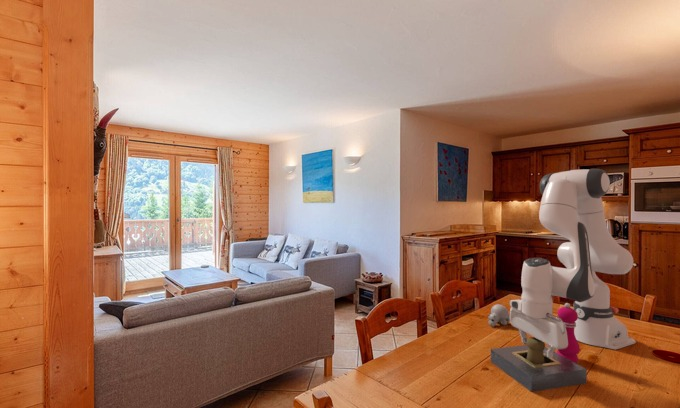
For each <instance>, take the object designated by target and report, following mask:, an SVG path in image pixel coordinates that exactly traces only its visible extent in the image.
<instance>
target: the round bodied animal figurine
mask: <svg viewBox="0 0 680 408" xmlns="http://www.w3.org/2000/svg"><path fill="white" fill-rule="evenodd" d="M487 315H488V325H489V326H490V327H495V326H496V324H499V323H500V324H501V325H502V326H506V325H507V324H508V322H510V314H509V310H508V309H507V307H506V306H505V305H502V304H500V303H499V304H498V303H497V304H494V305H493V306H492V307H491V308H490V313H487Z"/></svg>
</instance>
